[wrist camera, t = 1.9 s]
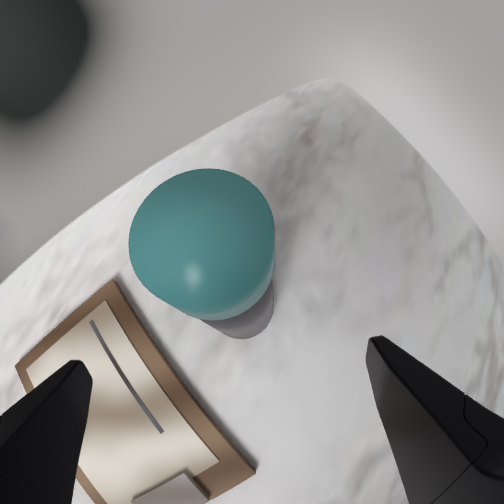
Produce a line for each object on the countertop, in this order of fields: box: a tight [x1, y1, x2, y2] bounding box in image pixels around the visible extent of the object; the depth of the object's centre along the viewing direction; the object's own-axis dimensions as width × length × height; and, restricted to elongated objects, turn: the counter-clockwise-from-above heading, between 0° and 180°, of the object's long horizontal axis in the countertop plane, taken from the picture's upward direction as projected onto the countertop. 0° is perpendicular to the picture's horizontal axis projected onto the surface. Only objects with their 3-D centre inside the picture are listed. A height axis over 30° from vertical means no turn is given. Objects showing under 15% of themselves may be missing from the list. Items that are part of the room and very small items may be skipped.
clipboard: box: [15, 280, 256, 504], centre depth 17 cm, size 16×12×1 cm
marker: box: [129, 169, 275, 339], centre depth 14 cm, size 4×4×12 cm
